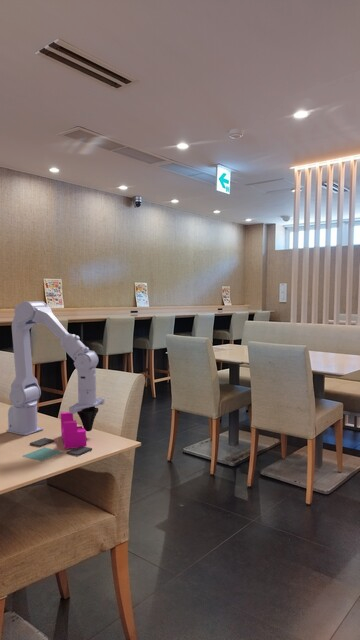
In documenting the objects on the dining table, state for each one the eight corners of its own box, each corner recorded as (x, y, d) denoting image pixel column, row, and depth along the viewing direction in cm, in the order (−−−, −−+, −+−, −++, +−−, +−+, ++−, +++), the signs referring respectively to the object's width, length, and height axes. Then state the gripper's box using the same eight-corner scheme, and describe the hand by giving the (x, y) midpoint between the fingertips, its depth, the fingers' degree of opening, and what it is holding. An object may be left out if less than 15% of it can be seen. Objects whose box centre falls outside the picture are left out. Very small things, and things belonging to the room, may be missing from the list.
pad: (21, 456, 131) (21, 456, 131) (44, 447, 139) (44, 447, 139) (41, 461, 127) (41, 461, 127) (63, 452, 134) (63, 451, 134)
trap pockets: (29, 444, 141) (29, 443, 141) (44, 439, 146) (44, 437, 146) (77, 456, 131) (77, 454, 131) (92, 449, 136) (92, 448, 136)
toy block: (86, 446, 138) (85, 421, 138) (65, 448, 136) (63, 423, 136) (81, 433, 152) (79, 410, 152) (61, 435, 150) (60, 412, 150)
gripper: (80, 394, 140) (81, 438, 141) (111, 386, 152) (111, 426, 153) (63, 392, 144) (64, 435, 144) (95, 384, 156) (95, 423, 157)
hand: (87, 430), depth 149 cm, fingers closed
